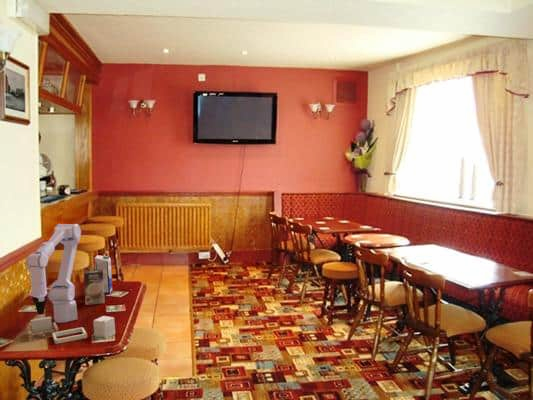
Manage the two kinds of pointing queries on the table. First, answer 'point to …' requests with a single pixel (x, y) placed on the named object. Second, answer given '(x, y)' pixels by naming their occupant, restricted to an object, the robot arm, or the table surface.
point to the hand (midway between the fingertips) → (40, 314)
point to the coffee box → (94, 287)
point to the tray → (71, 338)
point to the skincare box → (104, 326)
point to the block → (41, 325)
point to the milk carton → (105, 271)
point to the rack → (43, 332)
